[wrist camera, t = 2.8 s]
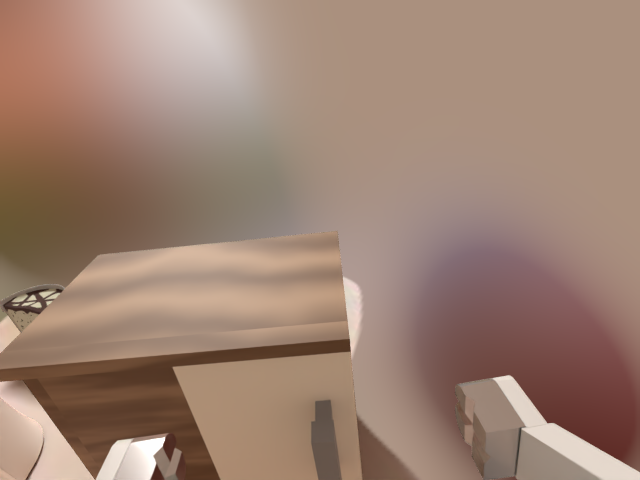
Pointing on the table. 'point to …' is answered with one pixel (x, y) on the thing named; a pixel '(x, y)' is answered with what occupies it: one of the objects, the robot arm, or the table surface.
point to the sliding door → (277, 417)
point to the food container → (29, 303)
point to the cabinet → (173, 335)
